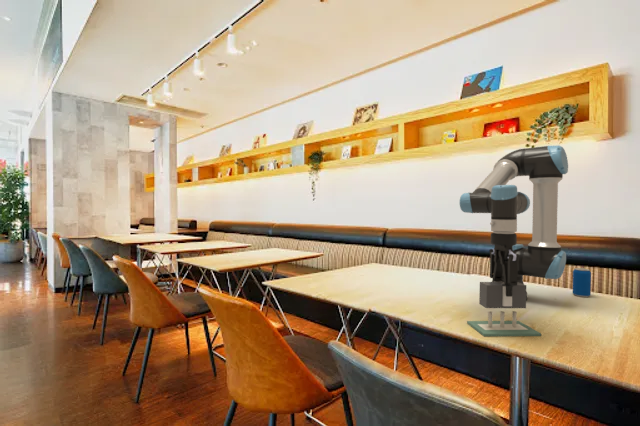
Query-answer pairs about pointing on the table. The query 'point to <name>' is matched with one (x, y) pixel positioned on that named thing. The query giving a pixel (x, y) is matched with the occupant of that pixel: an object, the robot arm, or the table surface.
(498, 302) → the block
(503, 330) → the green peg board
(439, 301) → the table surface
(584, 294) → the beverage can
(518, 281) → the robot arm
